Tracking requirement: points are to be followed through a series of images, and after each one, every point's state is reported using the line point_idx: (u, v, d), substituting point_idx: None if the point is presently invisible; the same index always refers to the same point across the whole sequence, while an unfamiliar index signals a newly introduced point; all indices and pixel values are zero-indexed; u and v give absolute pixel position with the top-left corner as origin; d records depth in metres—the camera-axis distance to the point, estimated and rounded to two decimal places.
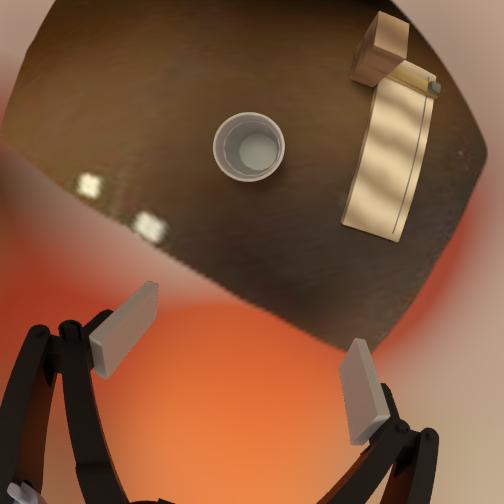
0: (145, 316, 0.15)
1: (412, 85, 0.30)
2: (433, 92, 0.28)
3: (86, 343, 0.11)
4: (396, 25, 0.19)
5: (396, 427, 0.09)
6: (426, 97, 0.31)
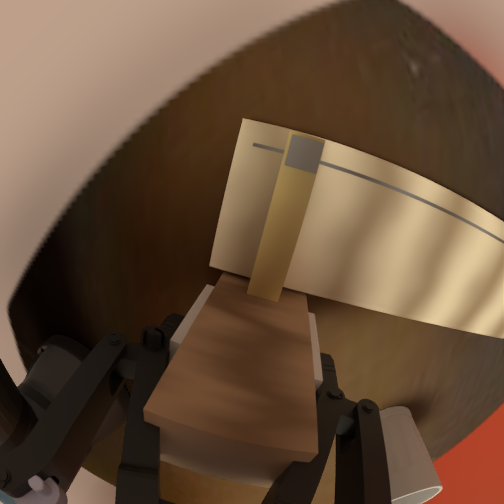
0: None
1: (303, 217, 0.15)
2: None
3: None
4: (178, 444, 0.08)
5: (328, 394, 0.11)
6: None
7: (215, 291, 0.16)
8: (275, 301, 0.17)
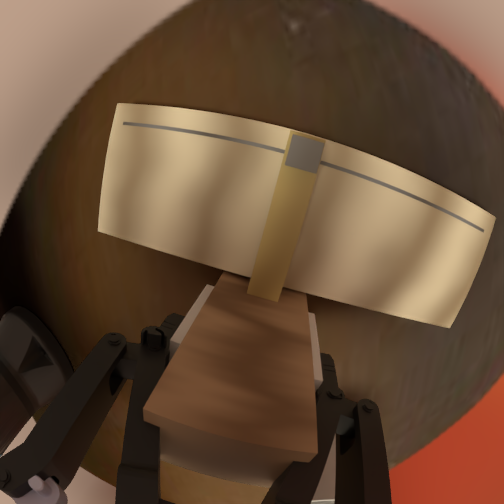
0: None
1: (303, 217, 0.15)
2: None
3: None
4: (178, 443, 0.08)
5: (328, 394, 0.11)
6: (173, 127, 0.16)
7: (215, 291, 0.16)
8: (275, 301, 0.17)
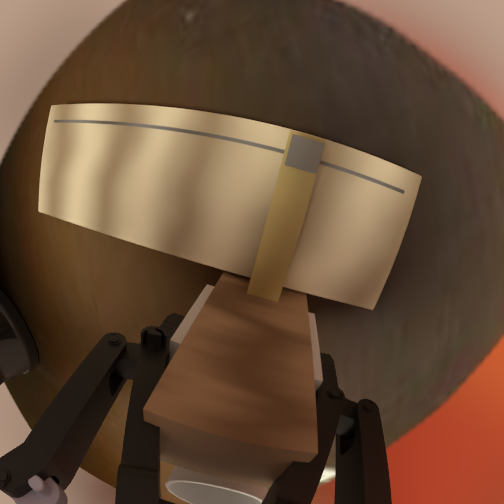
0: None
1: (303, 217, 0.15)
2: None
3: None
4: (178, 444, 0.08)
5: (328, 394, 0.11)
6: (84, 120, 0.16)
7: (215, 291, 0.16)
8: (275, 301, 0.17)
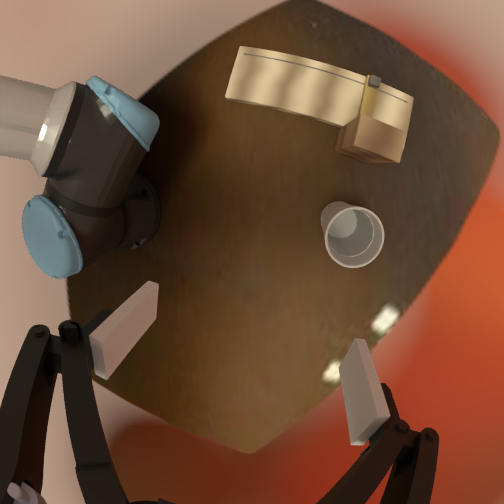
0: (145, 316, 0.15)
1: None
2: None
3: (86, 343, 0.11)
4: (369, 130, 0.26)
5: (396, 427, 0.09)
6: (268, 57, 0.35)
7: (346, 125, 0.35)
8: None
